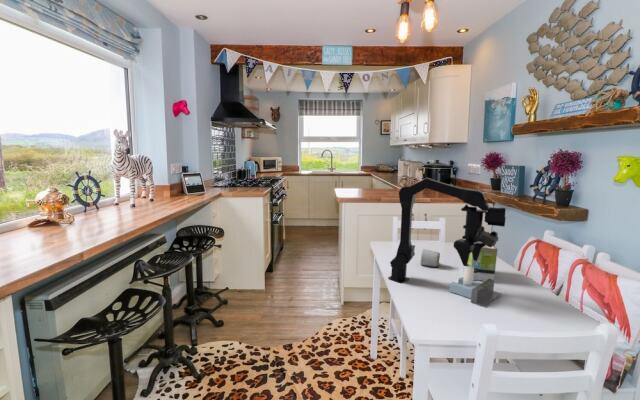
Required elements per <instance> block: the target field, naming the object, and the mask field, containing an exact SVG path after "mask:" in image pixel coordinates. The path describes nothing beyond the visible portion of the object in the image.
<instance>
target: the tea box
mask: <svg viewBox="0 0 640 400" xmlns="http://www.w3.org/2000/svg"><path fill="white" fill-rule="evenodd" d="M497 256H498V248H497V246H496V245H495V246H492V247H488V246H487V245H486V246H484V247H483V248H482V250H481V252H480V254H479V257H478V259H477V261H474V260H473V256H472V252H471V253H470V255H469V259H468V263H467V266H470V267H473V268H474V275H473V281H480V282H481V281H482V282H485V281H486V280H488V279H492V280H494V281H495V274H496V266H497V265H496V264H497ZM464 267H465V266H464V265H463V264H462V269H463V270H464Z"/></svg>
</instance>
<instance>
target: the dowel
mask: <svg viewBox="0 0 640 400" xmlns="http://www.w3.org/2000/svg"><path fill="white" fill-rule="evenodd" d="M473 275H474V268H473V267H470V266H465V267H464V269H463V277H462V278H463V285H465V286H468V287H470V286H472V285H473V281H474V280H473Z"/></svg>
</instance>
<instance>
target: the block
mask: <svg viewBox="0 0 640 400" xmlns="http://www.w3.org/2000/svg"><path fill="white" fill-rule="evenodd" d="M463 278H464V277H459V278H458V281H457V282H458V283H457V282H455V281H451V282H450V283H449V292H451V293H454V294H457V295H459V296H462V297H466V298H469V299H471V294H472V289H473V288H475V287H477V286H478V285H480V284H481V283H482V282H481V281H477V280H473V285H472V286H470V287H468V286H465V285H463Z"/></svg>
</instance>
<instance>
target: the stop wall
mask: <svg viewBox="0 0 640 400" xmlns="http://www.w3.org/2000/svg"><path fill="white" fill-rule="evenodd" d="M480 283H481V284H480V285H478V286H477V287H475V288H473V289H472V294H471V298H470V303H471V304H474V305H477V306H480V307H483V308H486V307H487V306H489V305H490V304H491V303H493V302H494V301H496V300H497V299H498V298H500V296H502V295H503V294H502V292H499V291H495V290H494V287H495V279H494V280H492V279H488V280H486V281H482V282H480Z"/></svg>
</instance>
